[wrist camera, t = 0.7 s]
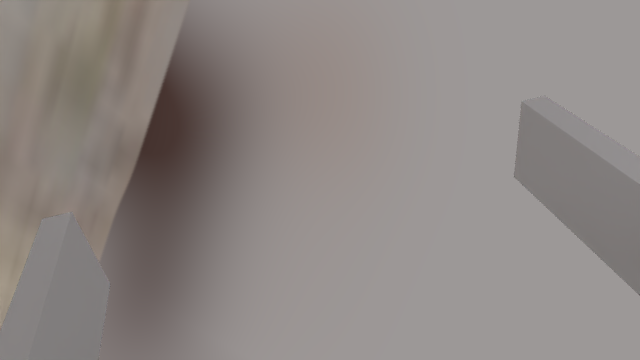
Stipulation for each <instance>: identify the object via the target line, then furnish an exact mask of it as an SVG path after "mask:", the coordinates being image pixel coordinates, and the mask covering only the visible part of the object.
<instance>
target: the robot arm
mask: <svg viewBox="0 0 640 360" xmlns="http://www.w3.org/2000/svg"><path fill="white" fill-rule="evenodd" d="M514 177H515V178H516V179H517V180H518V181H519V182H520V183H521V184H522V185H523V186H524V187H525V188H526V189H527V190H528V191H529V192H530V193H531V194H533V195H534V196H535V197H536V198H537V199H538V200H539V201H540V202H541V203H542V204H543V205H544V206H545V207H546V208H547V209H548V210H550V211H551V212H552V213H553V214H554V215H555V216H556V217H557V218H558V219H559V220H560V221H561V222H562V223H563V224H564V225H565V226H567V227H568V228H569V229H570V230H571V231H572V232H573V233H574V234H575V235H576V236H577V237H578V238H579V239H580V240H581V241H582V242H583V243H585V244H586V245H587V246H588V247H589V248H590V249H591V250H592V251H593V252H594V253H595V254H596V255H597V256H598V257H599V258H600V259H601V260H603V261H604V262H605V263H606V264H607V265H608V266H609V267H610V268H611V269H612V270H613V271H614V272H615V273H616V274H617V275H618V276H619V277H621V278H622V279H623V280H624V281H625V282H626V283H627V284H628V285H629V286H630V287H631V288H632V289H633V290H634V291H635V292H636V293H638V294H639V295H640V156H638V155H637V154H635V153H634V152H632V151H630V150H629V149H627V148H626V147H624V146H623V145H621V144H619V143H618V142H616V141H615V140H613V139H612V138H610V137H609V136H607V135H605V134H604V133H602V132H601V131H599V130H598V129H596V128H594V127H593V126H591V125H590V124H588V123H587V122H585V121H584V120H582V119H581V118H579V117H578V116H576V115H574V114H573V113H571V112H570V111H568V110H567V109H565V108H564V107H562V106H560V105H559V104H557V103H556V102H554V101H552V100H551V99H550V98H548V97H546V96H541V97H537V98H533V99H529V100H525V101H522V102H521V112H520V122H519V131H518V141H517V151H516V161H515V172H514ZM109 289H110V282H109V280H108V279H107V277H106V275H105V273H104V271H103V269H102V267H101V265H100V264H99V262H98V260H97V258H96V256H95V254H94V252H93V251H92V249H91V247H90V245H89V243H88V241H87V239H86V237H85V236H84V234H83V232H82V230H81V228H80V226H79V224H78V222H77V221H76V219H75V217H74V215H73V213H72V212H69V213H65V214H61V215H57V216H52V217H48V218H44V219H42V221H41V224H40V226H39V229H38V232H37V234H36V237H35V240H34V242H33V245H32V248H31V250H30V253H29V256H28V258H27V261H26V264H25V267H24V269H23V272H22V275H21V277H20V280H19V283H18V285H17V288H16V291H15V293H14V296H13V299H12V301H11V304H10V307H9V309H8V312H7V315H6V317H5V320H4V323H3V325H2V328H1V331H0V360H98V359H99V353H100V346H101V340H102V334H103V327H104V321H105V315H106V308H107V302H108V295H109Z"/></svg>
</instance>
